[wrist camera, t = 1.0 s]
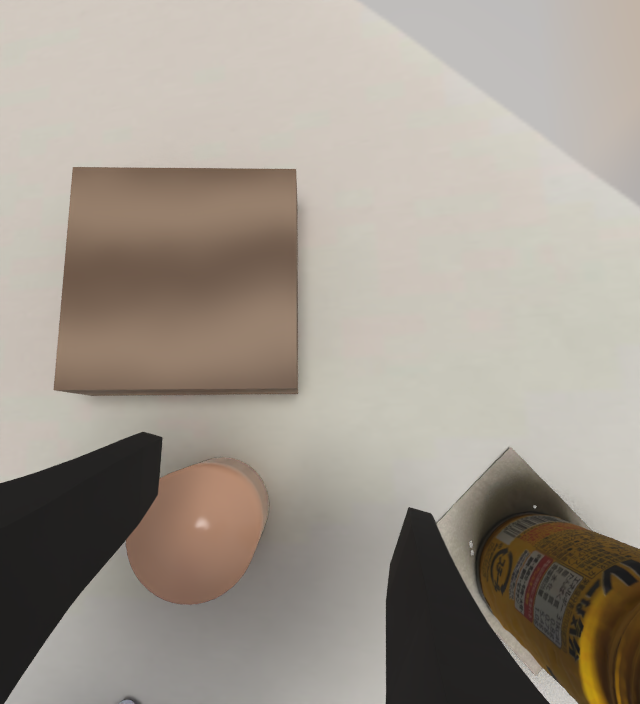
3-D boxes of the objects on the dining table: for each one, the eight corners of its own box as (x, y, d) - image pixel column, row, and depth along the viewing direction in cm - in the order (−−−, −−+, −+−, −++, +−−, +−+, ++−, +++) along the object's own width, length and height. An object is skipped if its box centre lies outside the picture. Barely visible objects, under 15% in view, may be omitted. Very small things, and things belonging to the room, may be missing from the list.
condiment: (534, 673, 22) (789, 952, 11) (414, 545, 23) (526, 671, 11) (626, 566, 23) (954, 711, 12) (508, 446, 24) (701, 467, 12)
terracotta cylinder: (219, 579, 23) (188, 634, 17) (151, 508, 23) (98, 537, 17) (289, 504, 23) (283, 532, 17) (221, 437, 24) (194, 441, 18)
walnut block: (297, 394, 25) (296, 388, 21) (94, 396, 24) (53, 390, 20) (297, 207, 26) (296, 169, 22) (108, 206, 26) (72, 167, 22)
